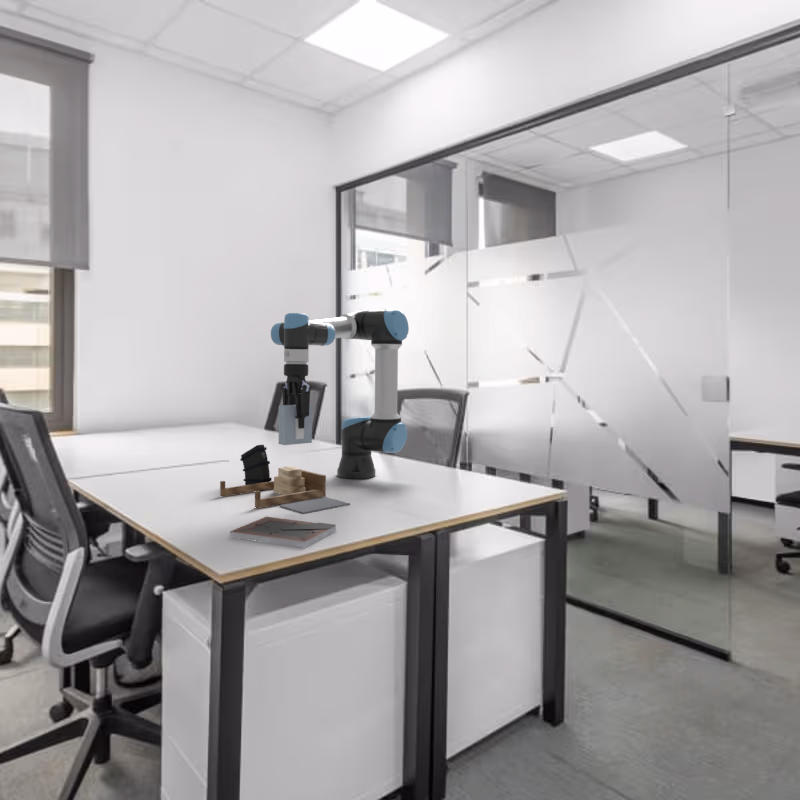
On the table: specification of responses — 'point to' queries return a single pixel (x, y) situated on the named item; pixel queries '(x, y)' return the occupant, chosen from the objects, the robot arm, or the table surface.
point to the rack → (313, 486)
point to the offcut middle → (289, 483)
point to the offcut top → (290, 473)
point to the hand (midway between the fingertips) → (295, 438)
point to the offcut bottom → (288, 490)
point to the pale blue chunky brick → (293, 425)
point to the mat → (314, 505)
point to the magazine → (256, 465)
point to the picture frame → (284, 531)
